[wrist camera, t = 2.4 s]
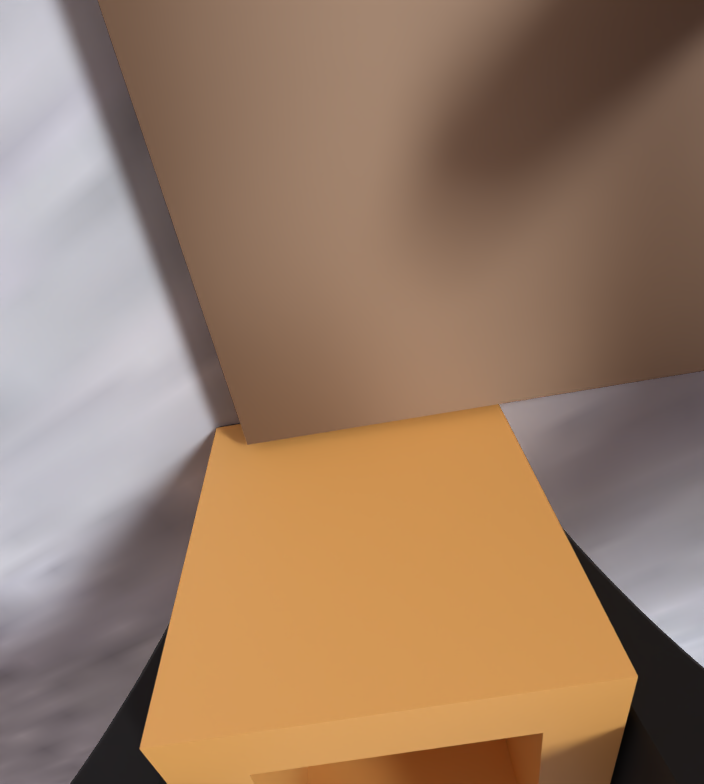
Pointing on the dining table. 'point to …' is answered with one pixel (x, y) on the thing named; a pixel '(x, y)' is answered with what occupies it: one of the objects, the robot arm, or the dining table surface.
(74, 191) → the dining table surface
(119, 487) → the dining table surface
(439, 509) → the orange hollow cube
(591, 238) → the wooden board with peg
